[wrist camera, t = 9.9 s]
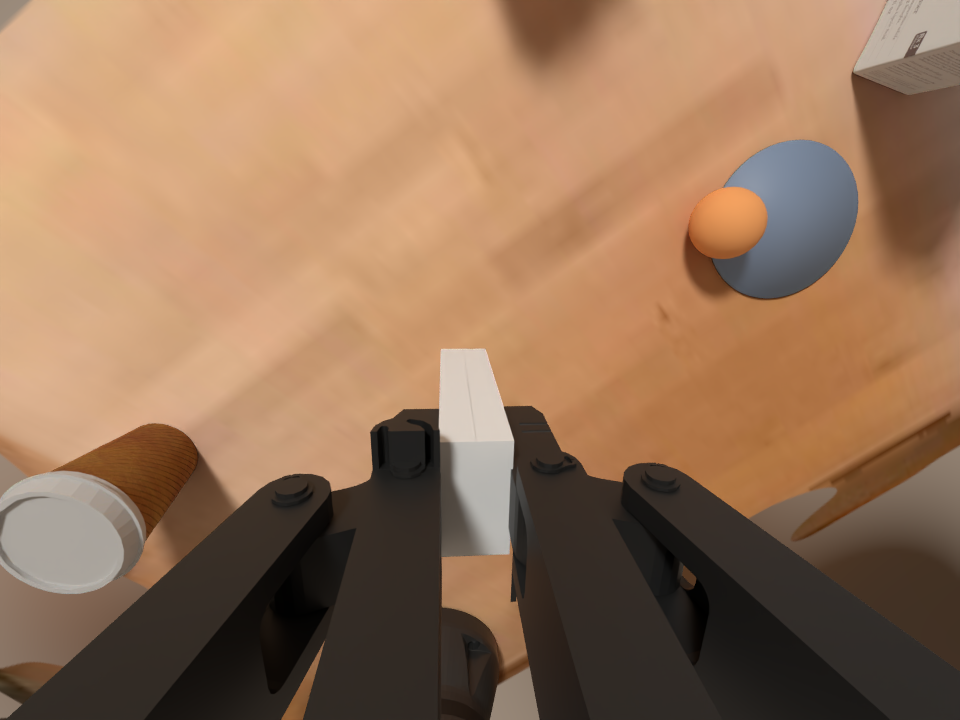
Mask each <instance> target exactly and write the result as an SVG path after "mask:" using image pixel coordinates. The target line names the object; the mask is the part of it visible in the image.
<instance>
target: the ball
mask: <svg viewBox="0 0 960 720" xmlns="http://www.w3.org/2000/svg"><path fill="white" fill-rule="evenodd" d="M767 220H768V215H767V210H766V207H765V204H764V203H763V201H762V200H761V198H760V197H759V196H758V195H756V194H755V193H754V192H752V191H750V190H748V189H745V188H742V187H726V188H721V189H718V190H716V191H714V192H712V193H710V194H708V195H707V196H705V197H704V198H703V199H702V200H701V201H700V202H699V203H698V204H697V205H696V207H695V208H694V210H693V212H692V214H691V217H690V220H689V236H690V239H691V241H692V243H693V245H694V246H695V247H696V249H697V250H698V251H700V252H701V253H702V254H704V255H706V256H708V257H711V258H715V259H730V258H734V257H737V256H740V255H742V254H744V253H746V252H748V251H749V250H750V249H752V248H753V247H754V246H755V245H756V244H757V243H758V242H759V241H760V239H761V238H762V236H763V234H764V232H765V230H766V226H767Z"/></svg>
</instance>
